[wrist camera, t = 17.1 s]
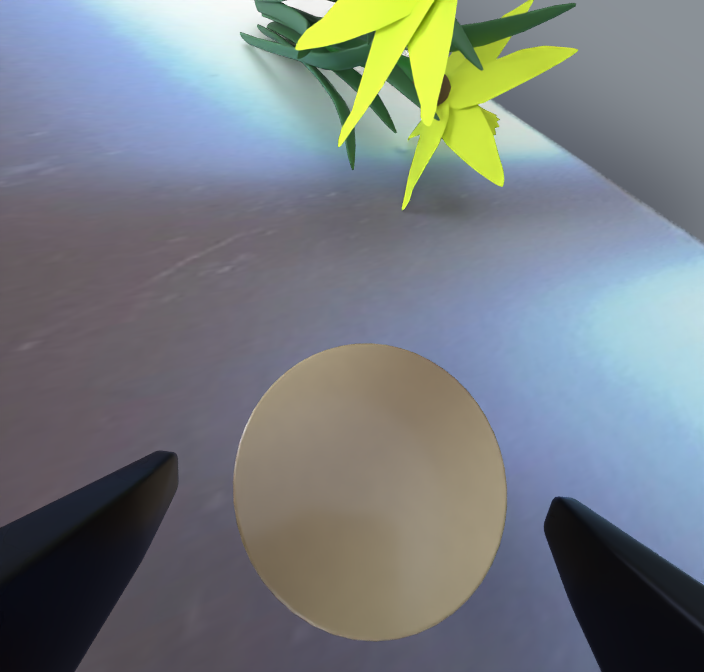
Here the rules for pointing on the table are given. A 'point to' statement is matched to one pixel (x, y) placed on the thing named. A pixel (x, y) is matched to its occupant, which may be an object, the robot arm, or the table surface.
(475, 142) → the daffodil flowers
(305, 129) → the table surface
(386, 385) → the cream cylinder
